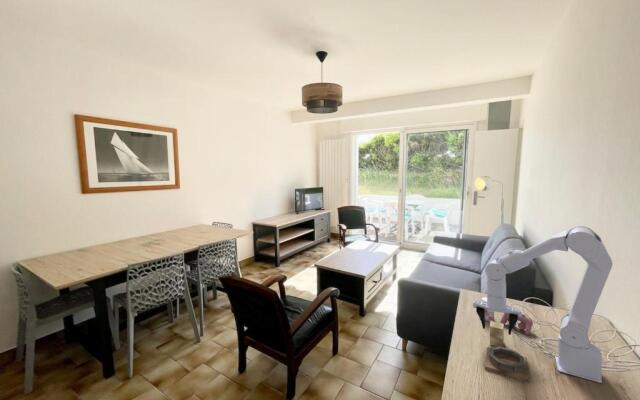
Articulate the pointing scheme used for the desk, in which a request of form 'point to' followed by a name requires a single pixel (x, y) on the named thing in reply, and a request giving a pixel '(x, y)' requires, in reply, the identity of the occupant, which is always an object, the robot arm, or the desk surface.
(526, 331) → the video game controller
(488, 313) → the pill bottle
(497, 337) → the maple plug
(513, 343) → the desk surface
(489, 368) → the ring holder
